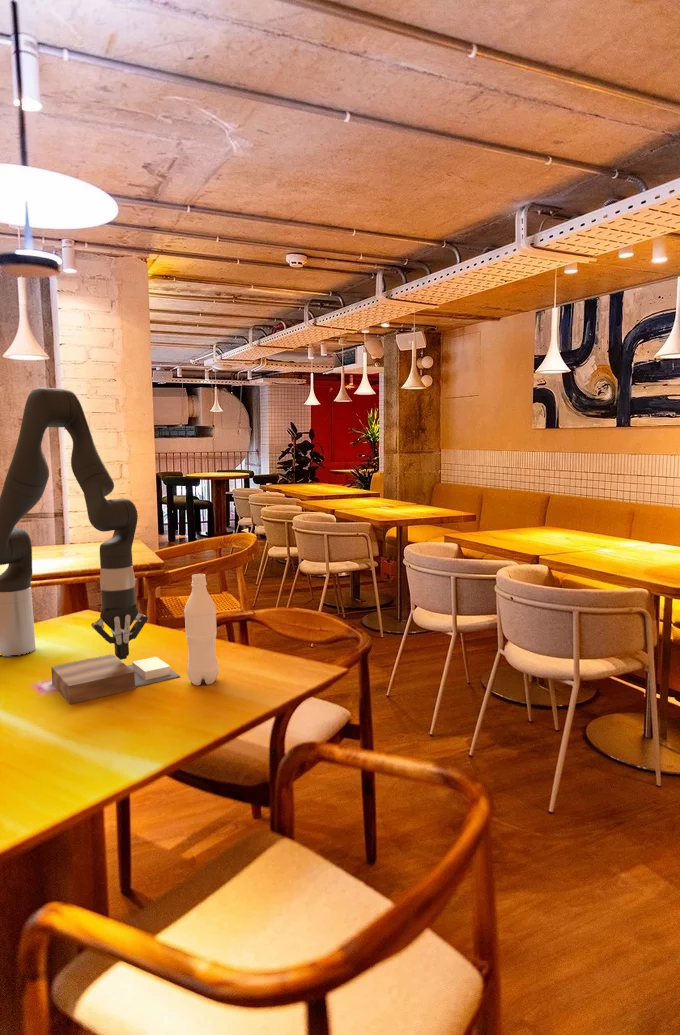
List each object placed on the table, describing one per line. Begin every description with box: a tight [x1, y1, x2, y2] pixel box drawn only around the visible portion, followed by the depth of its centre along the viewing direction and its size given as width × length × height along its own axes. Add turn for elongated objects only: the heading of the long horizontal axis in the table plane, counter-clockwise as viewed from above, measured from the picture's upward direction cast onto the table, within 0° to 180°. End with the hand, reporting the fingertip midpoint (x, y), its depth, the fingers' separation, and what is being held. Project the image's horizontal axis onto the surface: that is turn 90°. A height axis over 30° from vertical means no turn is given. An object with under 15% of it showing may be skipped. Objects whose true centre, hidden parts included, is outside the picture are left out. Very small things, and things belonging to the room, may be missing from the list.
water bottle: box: [183, 573, 220, 686], centre depth 151 cm, size 7×7×25 cm
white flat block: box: [131, 656, 171, 680], centre depth 158 cm, size 9×6×2 cm, turn 36°
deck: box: [50, 653, 136, 705], centre depth 151 cm, size 16×14×4 cm
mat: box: [127, 664, 181, 688], centre depth 158 cm, size 15×11×1 cm
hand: (122, 658), depth 154 cm, fingers closed
